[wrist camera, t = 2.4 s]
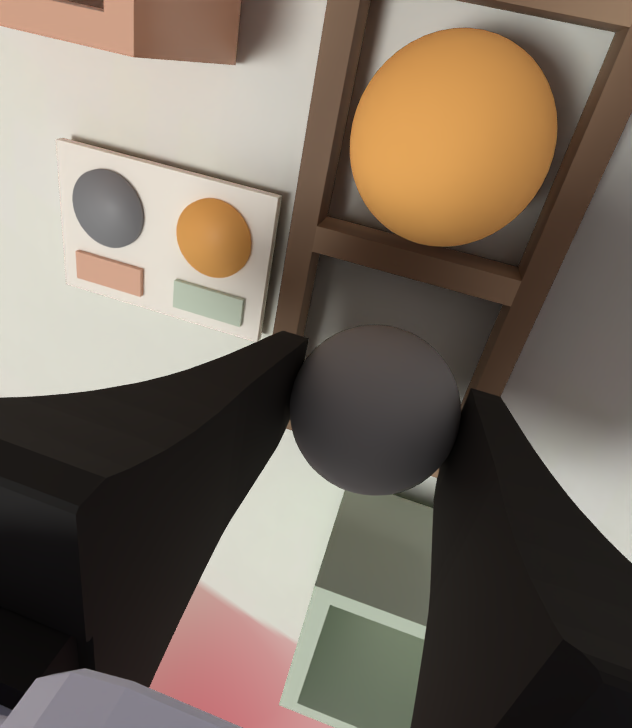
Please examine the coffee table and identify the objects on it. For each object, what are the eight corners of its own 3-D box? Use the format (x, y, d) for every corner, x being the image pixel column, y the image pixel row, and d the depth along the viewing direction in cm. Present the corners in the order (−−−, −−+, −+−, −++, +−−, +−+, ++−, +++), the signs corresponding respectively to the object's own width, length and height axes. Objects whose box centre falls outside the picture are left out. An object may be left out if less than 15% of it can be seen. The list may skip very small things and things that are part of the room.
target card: (282, 195, 12) (276, 199, 12) (260, 338, 14) (254, 345, 14) (63, 138, 13) (51, 139, 13) (72, 280, 15) (62, 286, 15)
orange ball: (575, 58, 10) (622, 46, 7) (504, 240, 12) (515, 296, 9) (392, 19, 10) (357, -9, 7) (352, 200, 12) (310, 240, 9)
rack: (668, -2, 9) (688, -10, 8) (460, 461, 15) (459, 485, 14) (351, -61, 10) (339, -75, 9) (270, 400, 15) (258, 419, 15)
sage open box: (540, 544, 15) (559, 675, 12) (471, 653, 18) (471, 782, 15) (348, 479, 16) (314, 585, 13) (313, 595, 19) (279, 705, 16)
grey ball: (485, 325, 11) (488, 414, 8) (435, 448, 13) (423, 557, 10) (331, 281, 12) (279, 349, 9) (304, 405, 14) (254, 497, 11)
